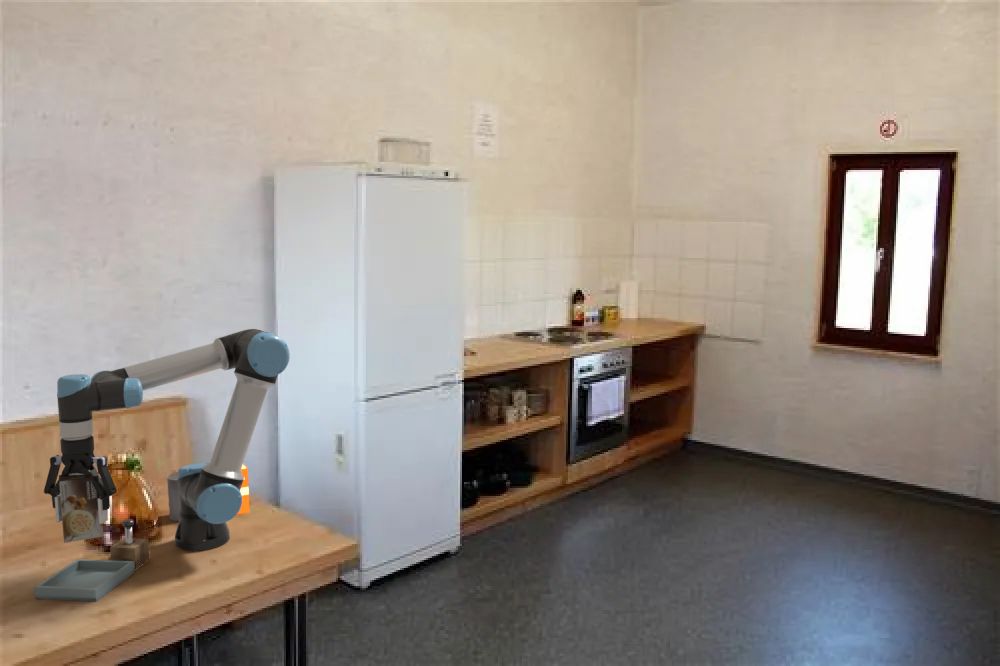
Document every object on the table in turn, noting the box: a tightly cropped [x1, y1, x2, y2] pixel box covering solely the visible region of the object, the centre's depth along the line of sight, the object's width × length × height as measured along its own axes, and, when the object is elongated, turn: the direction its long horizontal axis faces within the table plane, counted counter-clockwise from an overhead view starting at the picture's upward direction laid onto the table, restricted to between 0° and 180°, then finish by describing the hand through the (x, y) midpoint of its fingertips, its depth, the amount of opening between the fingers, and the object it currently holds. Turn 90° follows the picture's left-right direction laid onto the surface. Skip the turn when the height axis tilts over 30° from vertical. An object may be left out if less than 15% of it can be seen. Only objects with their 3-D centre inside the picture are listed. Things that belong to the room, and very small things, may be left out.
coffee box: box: [58, 470, 104, 543], centre depth 216 cm, size 9×6×16 cm
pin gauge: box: [122, 518, 135, 545], centre depth 231 cm, size 3×3×12 cm
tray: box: [33, 558, 136, 602], centre depth 218 cm, size 16×18×3 cm
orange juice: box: [236, 463, 250, 516], centre depth 274 cm, size 8×9×20 cm
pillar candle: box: [166, 471, 180, 522], centre depth 269 cm, size 10×10×15 cm
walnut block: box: [109, 537, 150, 570], centre depth 232 cm, size 7×7×6 cm
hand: (82, 521), depth 216 cm, fingers closed on coffee box, 11 cm apart
